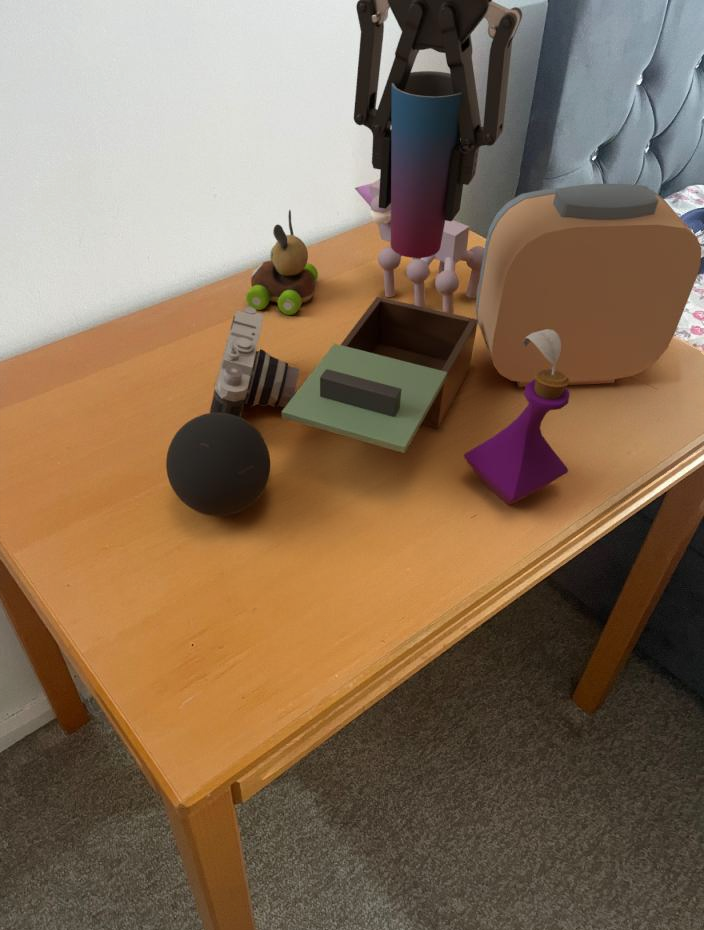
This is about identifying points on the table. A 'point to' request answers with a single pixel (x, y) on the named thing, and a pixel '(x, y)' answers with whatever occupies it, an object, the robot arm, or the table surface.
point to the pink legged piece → (418, 268)
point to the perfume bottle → (525, 434)
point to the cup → (421, 160)
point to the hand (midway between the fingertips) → (419, 208)
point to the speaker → (218, 464)
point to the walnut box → (419, 343)
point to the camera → (250, 370)
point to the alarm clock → (585, 281)
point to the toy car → (283, 275)
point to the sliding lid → (366, 397)
